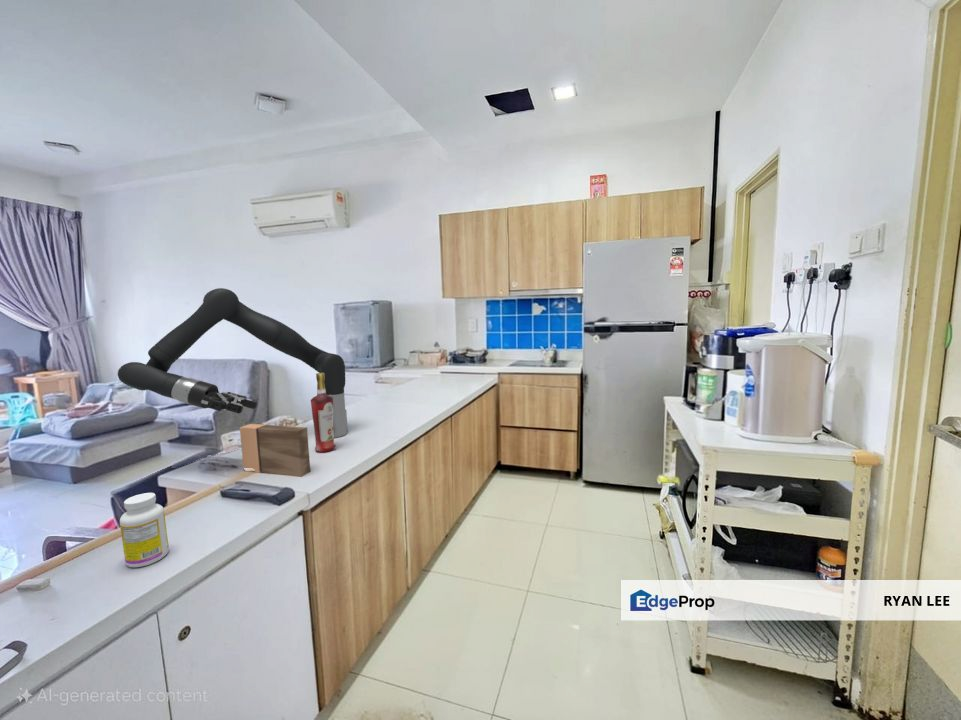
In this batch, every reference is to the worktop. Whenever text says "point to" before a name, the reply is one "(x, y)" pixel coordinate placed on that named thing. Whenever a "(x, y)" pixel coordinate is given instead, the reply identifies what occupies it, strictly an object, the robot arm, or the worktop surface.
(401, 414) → the worktop surface
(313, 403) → the liquor
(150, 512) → the supplement bottle
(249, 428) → the light orange tall block
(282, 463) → the brown wooden flat block
